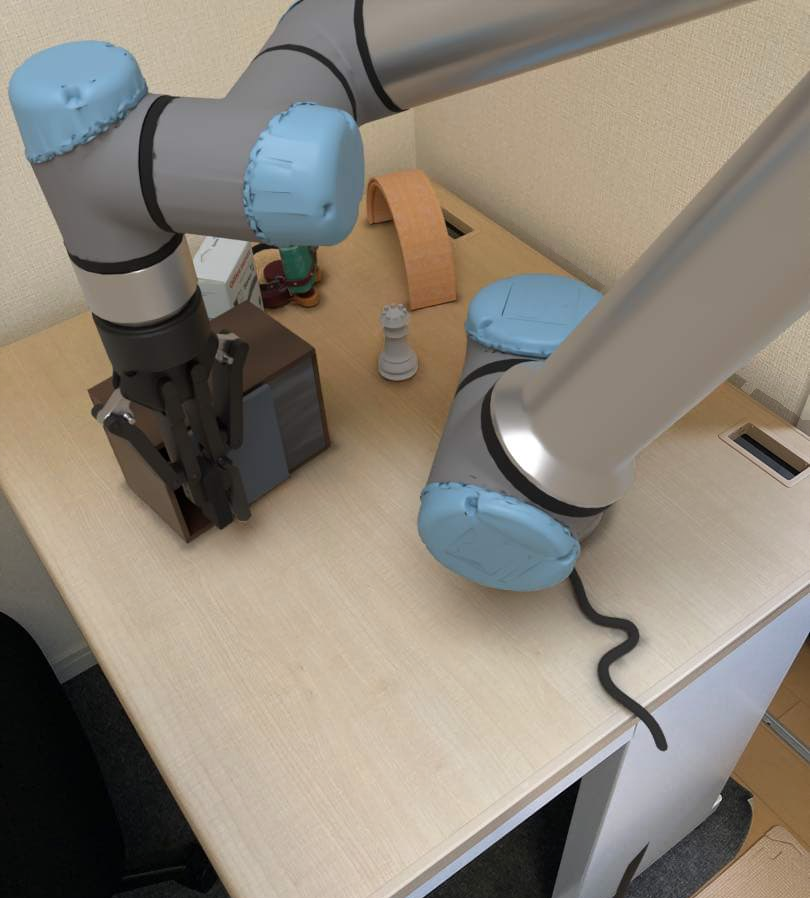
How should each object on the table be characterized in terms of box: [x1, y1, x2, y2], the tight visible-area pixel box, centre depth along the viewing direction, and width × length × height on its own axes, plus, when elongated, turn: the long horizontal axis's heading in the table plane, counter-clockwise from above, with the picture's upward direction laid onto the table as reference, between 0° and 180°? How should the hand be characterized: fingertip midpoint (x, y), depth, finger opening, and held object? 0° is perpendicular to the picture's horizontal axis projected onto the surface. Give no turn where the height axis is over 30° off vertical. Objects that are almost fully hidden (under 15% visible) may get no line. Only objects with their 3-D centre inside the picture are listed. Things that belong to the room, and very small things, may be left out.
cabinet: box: [86, 300, 332, 544], centre depth 88 cm, size 10×18×13 cm, turn 133°
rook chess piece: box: [377, 302, 419, 382], centre depth 97 cm, size 4×4×8 cm
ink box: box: [192, 236, 265, 321], centre depth 100 cm, size 9×5×12 cm, turn 168°
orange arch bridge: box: [365, 168, 457, 311], centre depth 109 cm, size 6×20×10 cm, turn 16°
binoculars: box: [251, 243, 323, 308], centre depth 107 cm, size 9×10×10 cm
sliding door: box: [188, 384, 290, 527], centre depth 83 cm, size 5×9×12 cm, turn 133°
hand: (218, 517), depth 80 cm, fingers closed
